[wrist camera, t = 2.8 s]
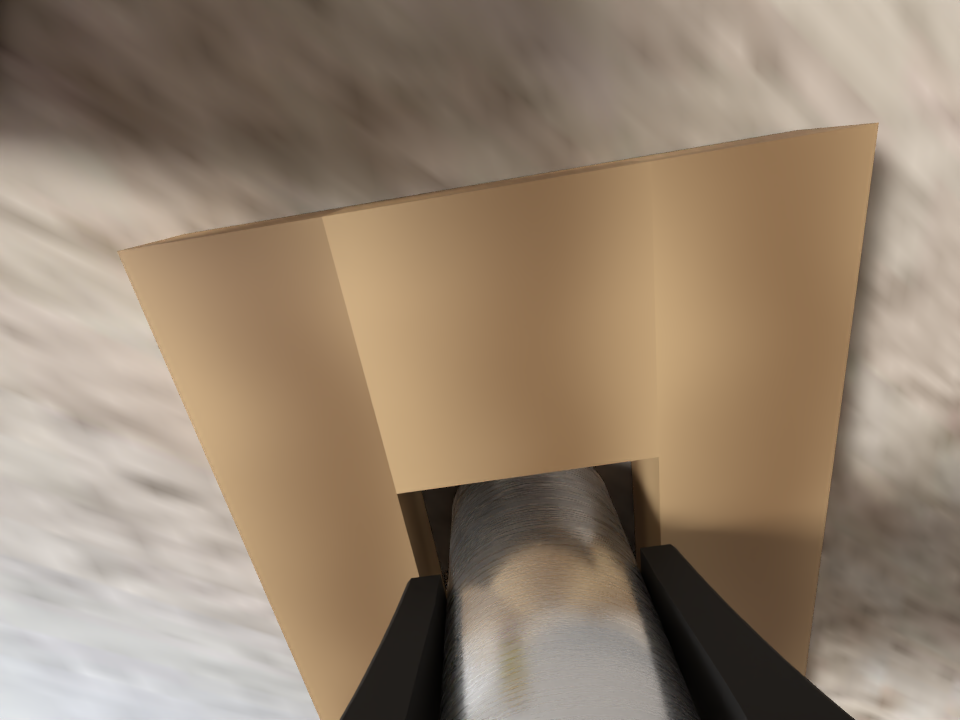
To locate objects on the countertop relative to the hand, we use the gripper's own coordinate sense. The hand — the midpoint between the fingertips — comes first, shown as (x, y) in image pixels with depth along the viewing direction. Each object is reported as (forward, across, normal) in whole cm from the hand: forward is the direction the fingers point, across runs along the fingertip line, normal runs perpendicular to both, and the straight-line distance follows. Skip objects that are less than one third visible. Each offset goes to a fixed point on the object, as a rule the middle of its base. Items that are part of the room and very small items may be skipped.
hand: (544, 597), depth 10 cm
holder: (+3, 0, 0) cm, 3 cm away
